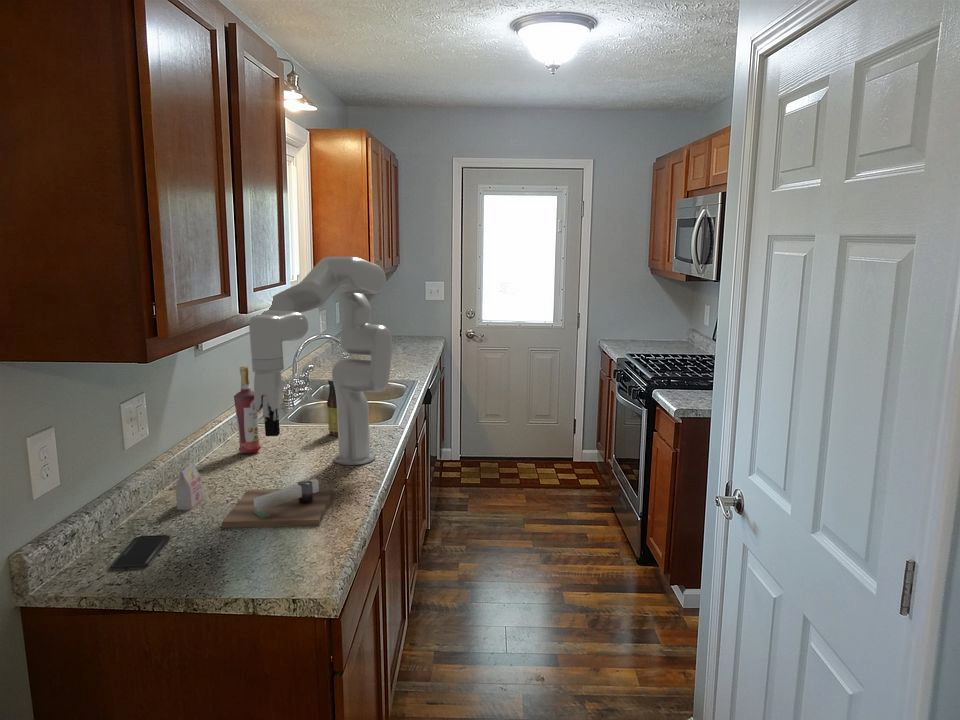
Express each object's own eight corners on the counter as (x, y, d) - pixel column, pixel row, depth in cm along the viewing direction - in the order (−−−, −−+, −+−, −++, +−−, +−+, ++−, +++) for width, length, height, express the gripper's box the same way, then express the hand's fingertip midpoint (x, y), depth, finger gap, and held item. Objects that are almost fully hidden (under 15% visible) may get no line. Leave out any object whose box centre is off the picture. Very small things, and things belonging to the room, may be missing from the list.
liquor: (251, 456, 215) (245, 370, 210) (233, 454, 218) (226, 368, 213) (266, 450, 222) (261, 365, 217) (248, 447, 224) (242, 364, 219)
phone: (171, 534, 157) (147, 564, 143) (171, 539, 158) (147, 569, 143) (135, 536, 157) (107, 567, 142) (135, 540, 157) (108, 572, 142)
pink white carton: (177, 509, 174) (173, 472, 172) (189, 499, 180) (186, 463, 179) (191, 509, 174) (188, 472, 172) (203, 499, 180) (200, 463, 178)
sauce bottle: (339, 430, 244) (336, 376, 240) (350, 433, 240) (348, 378, 236) (324, 434, 239) (321, 379, 235) (336, 437, 235) (333, 381, 231)
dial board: (248, 494, 183) (247, 488, 183) (334, 493, 184) (334, 487, 184) (222, 527, 163) (221, 521, 162) (319, 525, 163) (318, 518, 163)
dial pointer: (313, 494, 178) (312, 478, 177) (321, 498, 176) (320, 481, 175) (252, 515, 165) (251, 497, 164) (260, 519, 163) (259, 501, 162)
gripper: (261, 359, 177) (265, 427, 180) (243, 370, 162) (249, 444, 165) (290, 358, 177) (294, 426, 180) (275, 370, 162) (280, 443, 166)
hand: (272, 435), depth 173 cm, fingers closed
